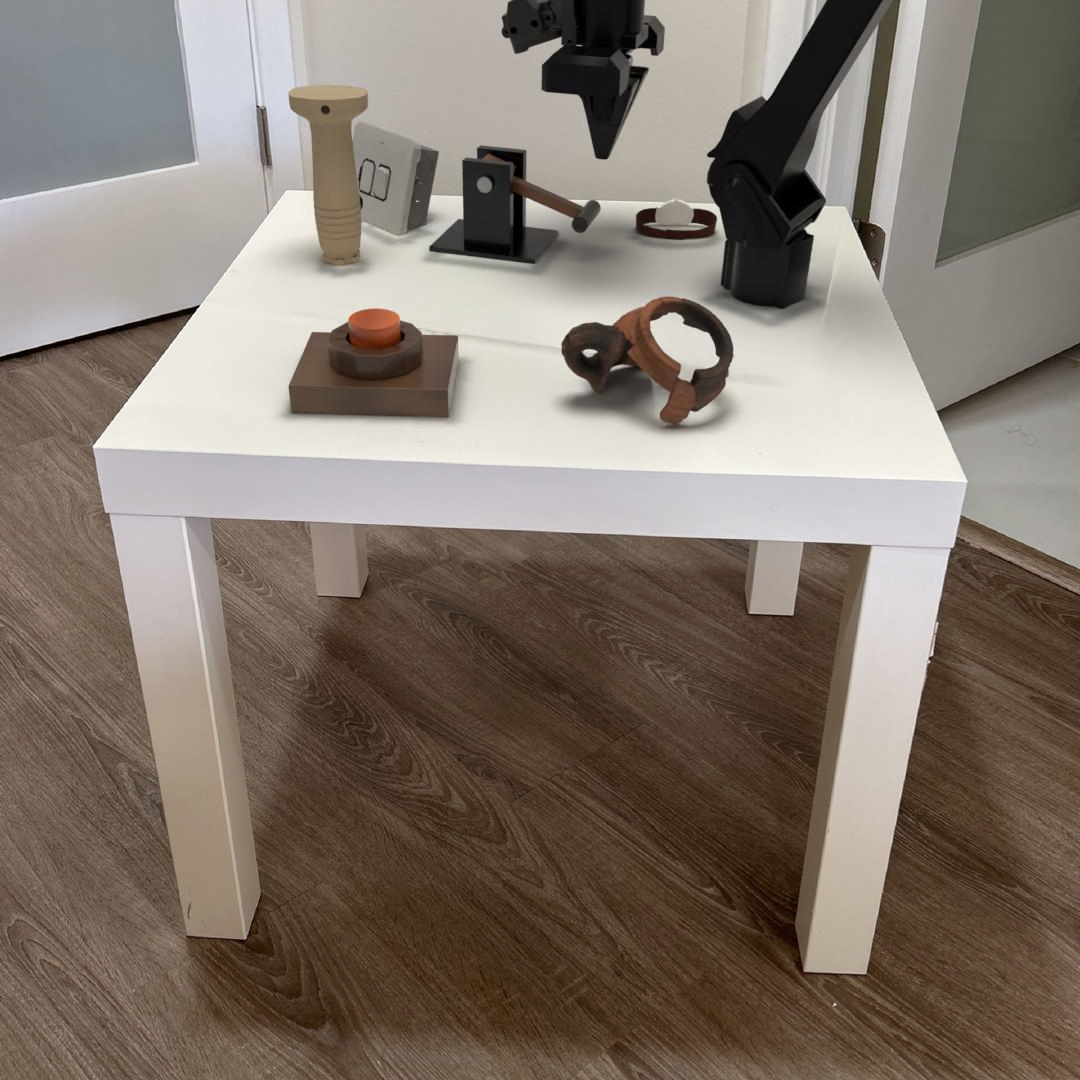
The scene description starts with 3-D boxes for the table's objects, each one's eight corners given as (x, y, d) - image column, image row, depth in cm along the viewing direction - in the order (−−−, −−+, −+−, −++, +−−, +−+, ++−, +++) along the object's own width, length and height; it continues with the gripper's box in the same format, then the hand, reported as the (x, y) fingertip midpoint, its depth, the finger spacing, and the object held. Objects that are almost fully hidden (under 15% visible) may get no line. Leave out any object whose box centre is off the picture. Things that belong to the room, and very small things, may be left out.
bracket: (558, 242, 112) (561, 148, 107) (534, 272, 105) (536, 173, 100) (458, 230, 114) (456, 137, 109) (429, 259, 107) (425, 161, 102)
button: (403, 331, 86) (402, 308, 85) (397, 352, 83) (396, 329, 82) (354, 330, 86) (352, 307, 85) (346, 351, 83) (344, 328, 82)
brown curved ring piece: (675, 362, 91) (728, 291, 85) (701, 463, 87) (759, 396, 80) (533, 341, 87) (577, 265, 80) (552, 448, 82) (601, 375, 76)
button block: (458, 362, 90) (457, 312, 88) (448, 418, 82) (447, 365, 80) (314, 358, 90) (309, 309, 88) (291, 414, 82) (285, 361, 80)
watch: (711, 231, 115) (715, 194, 113) (718, 248, 111) (722, 210, 109) (632, 230, 115) (634, 193, 113) (636, 247, 111) (638, 209, 109)
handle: (375, 277, 104) (364, 100, 95) (302, 276, 103) (284, 99, 95) (380, 257, 108) (370, 85, 99) (309, 256, 107) (293, 84, 99)
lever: (595, 222, 108) (605, 198, 106) (582, 240, 104) (591, 216, 102) (485, 173, 108) (493, 148, 107) (467, 189, 104) (475, 164, 103)
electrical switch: (339, 219, 116) (340, 121, 111) (382, 213, 119) (384, 117, 114) (397, 245, 110) (400, 143, 106) (440, 238, 114) (445, 138, 109)
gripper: (545, -62, 102) (542, 122, 111) (476, -30, 87) (479, 180, 96) (671, -55, 100) (658, 133, 109) (623, -21, 85) (612, 194, 94)
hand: (602, 158), depth 102 cm, fingers closed
